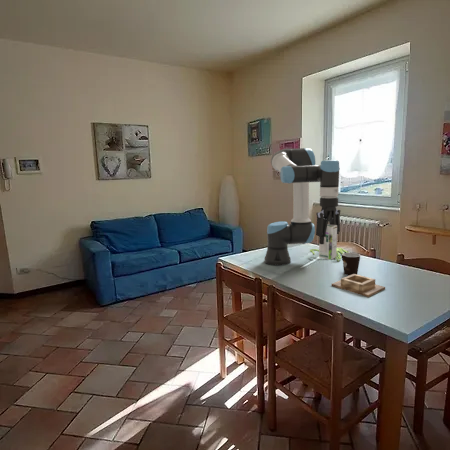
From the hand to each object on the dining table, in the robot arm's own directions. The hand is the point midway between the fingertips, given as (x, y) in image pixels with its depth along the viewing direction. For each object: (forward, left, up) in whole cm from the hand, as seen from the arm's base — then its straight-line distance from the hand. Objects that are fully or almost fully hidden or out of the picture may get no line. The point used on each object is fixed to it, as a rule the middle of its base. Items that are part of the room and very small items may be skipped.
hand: (327, 249), depth 143 cm
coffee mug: (-7, +29, -19) cm, 36 cm away
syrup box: (0, 0, -4) cm, 4 cm away
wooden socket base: (+7, +13, -19) cm, 24 cm away
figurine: (-34, +49, -20) cm, 63 cm away
